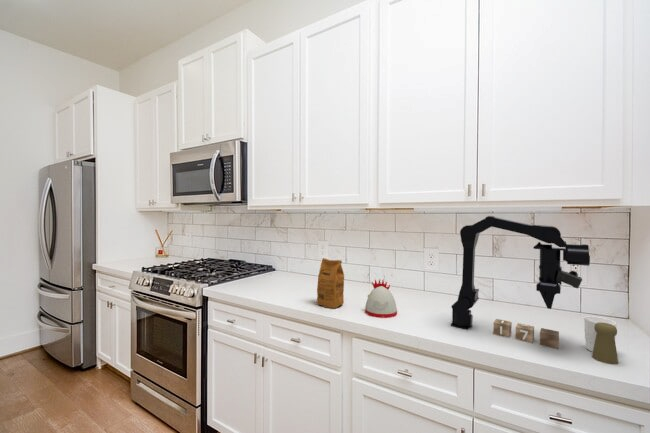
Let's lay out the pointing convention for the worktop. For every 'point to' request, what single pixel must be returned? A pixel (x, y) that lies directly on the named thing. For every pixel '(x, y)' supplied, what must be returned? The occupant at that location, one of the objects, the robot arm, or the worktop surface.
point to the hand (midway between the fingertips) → (549, 308)
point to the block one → (502, 328)
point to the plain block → (549, 338)
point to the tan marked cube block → (524, 333)
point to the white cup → (590, 331)
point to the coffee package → (330, 284)
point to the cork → (605, 343)
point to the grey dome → (381, 302)
